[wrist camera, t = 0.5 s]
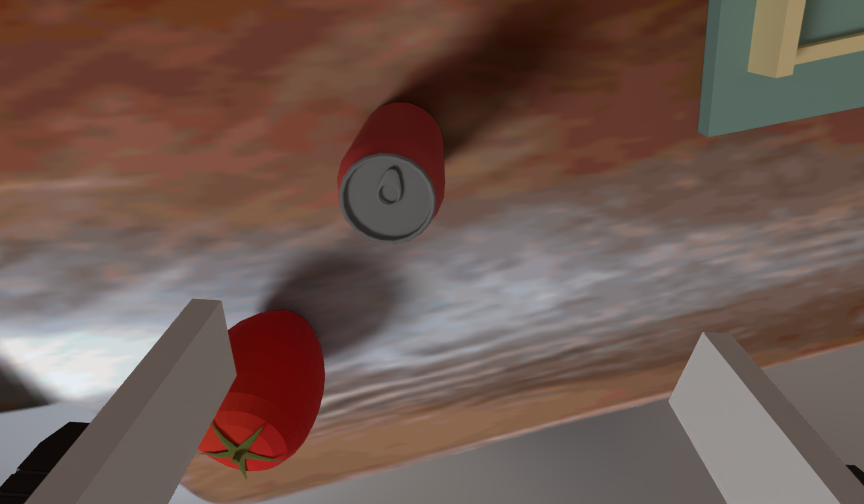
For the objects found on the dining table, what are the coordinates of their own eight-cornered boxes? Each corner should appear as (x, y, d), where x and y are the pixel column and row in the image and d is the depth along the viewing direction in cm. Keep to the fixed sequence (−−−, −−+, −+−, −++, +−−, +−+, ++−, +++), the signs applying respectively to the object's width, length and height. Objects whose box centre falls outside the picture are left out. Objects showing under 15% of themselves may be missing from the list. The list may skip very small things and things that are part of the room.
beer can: (451, 110, 34) (457, 158, 23) (434, 188, 37) (432, 261, 27) (367, 91, 33) (334, 132, 23) (356, 173, 36) (324, 241, 26)
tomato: (320, 390, 49) (281, 520, 37) (218, 361, 47) (141, 488, 35) (353, 307, 43) (320, 428, 31) (238, 270, 41) (154, 383, 29)
